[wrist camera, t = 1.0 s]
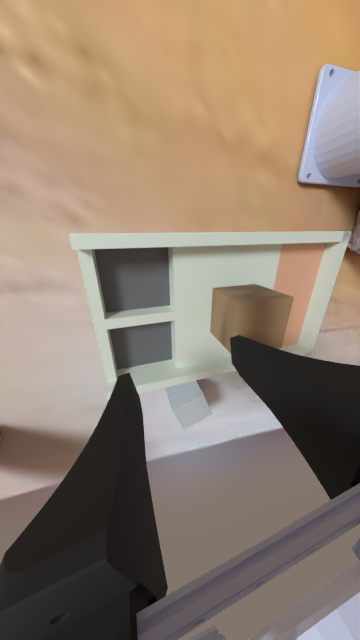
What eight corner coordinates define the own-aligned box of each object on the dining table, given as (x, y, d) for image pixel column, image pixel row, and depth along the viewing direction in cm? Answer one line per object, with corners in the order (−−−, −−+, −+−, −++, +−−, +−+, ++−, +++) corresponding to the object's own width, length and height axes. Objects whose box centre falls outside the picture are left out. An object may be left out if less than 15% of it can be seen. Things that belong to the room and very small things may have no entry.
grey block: (191, 372, 25) (203, 394, 21) (200, 390, 27) (212, 413, 23) (164, 386, 25) (172, 410, 21) (175, 404, 26) (183, 429, 23)
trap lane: (319, 232, 22) (351, 231, 19) (290, 341, 28) (311, 354, 25) (78, 234, 15) (68, 233, 12) (109, 377, 21) (107, 400, 18)
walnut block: (255, 283, 20) (293, 297, 15) (248, 325, 22) (281, 348, 18) (212, 287, 19) (241, 303, 14) (210, 332, 21) (234, 357, 16)
